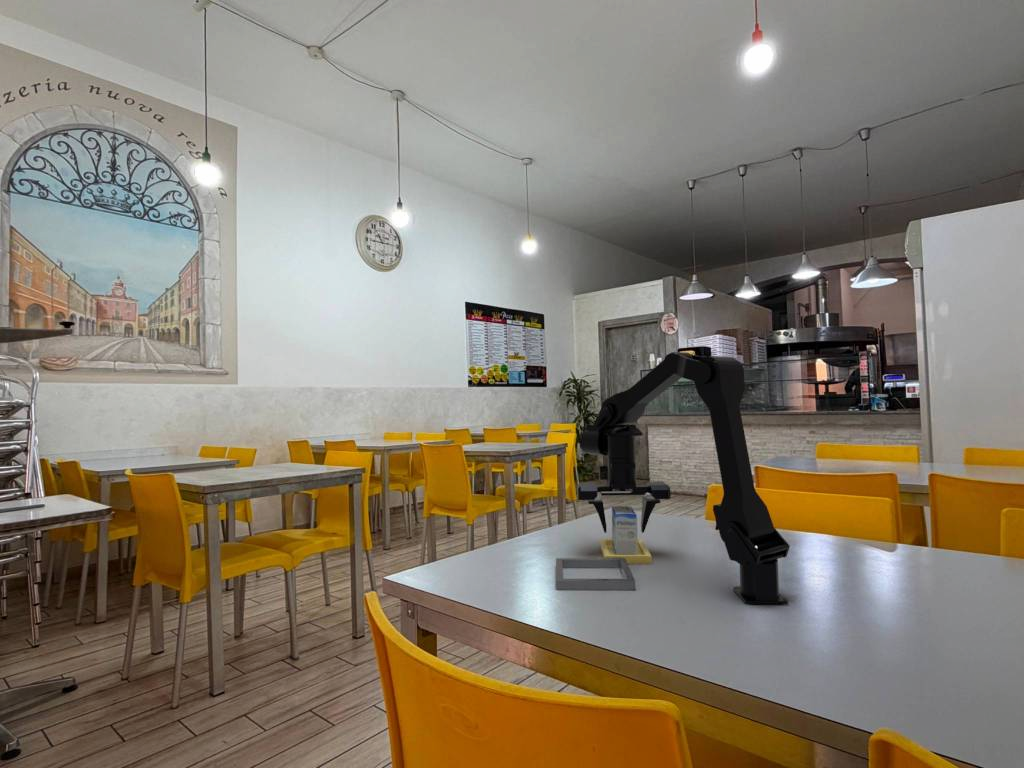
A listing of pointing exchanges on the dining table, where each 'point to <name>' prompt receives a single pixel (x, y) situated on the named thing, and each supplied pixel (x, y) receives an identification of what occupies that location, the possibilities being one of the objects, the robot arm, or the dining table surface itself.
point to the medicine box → (624, 531)
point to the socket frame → (594, 584)
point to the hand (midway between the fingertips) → (623, 532)
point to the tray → (641, 558)
